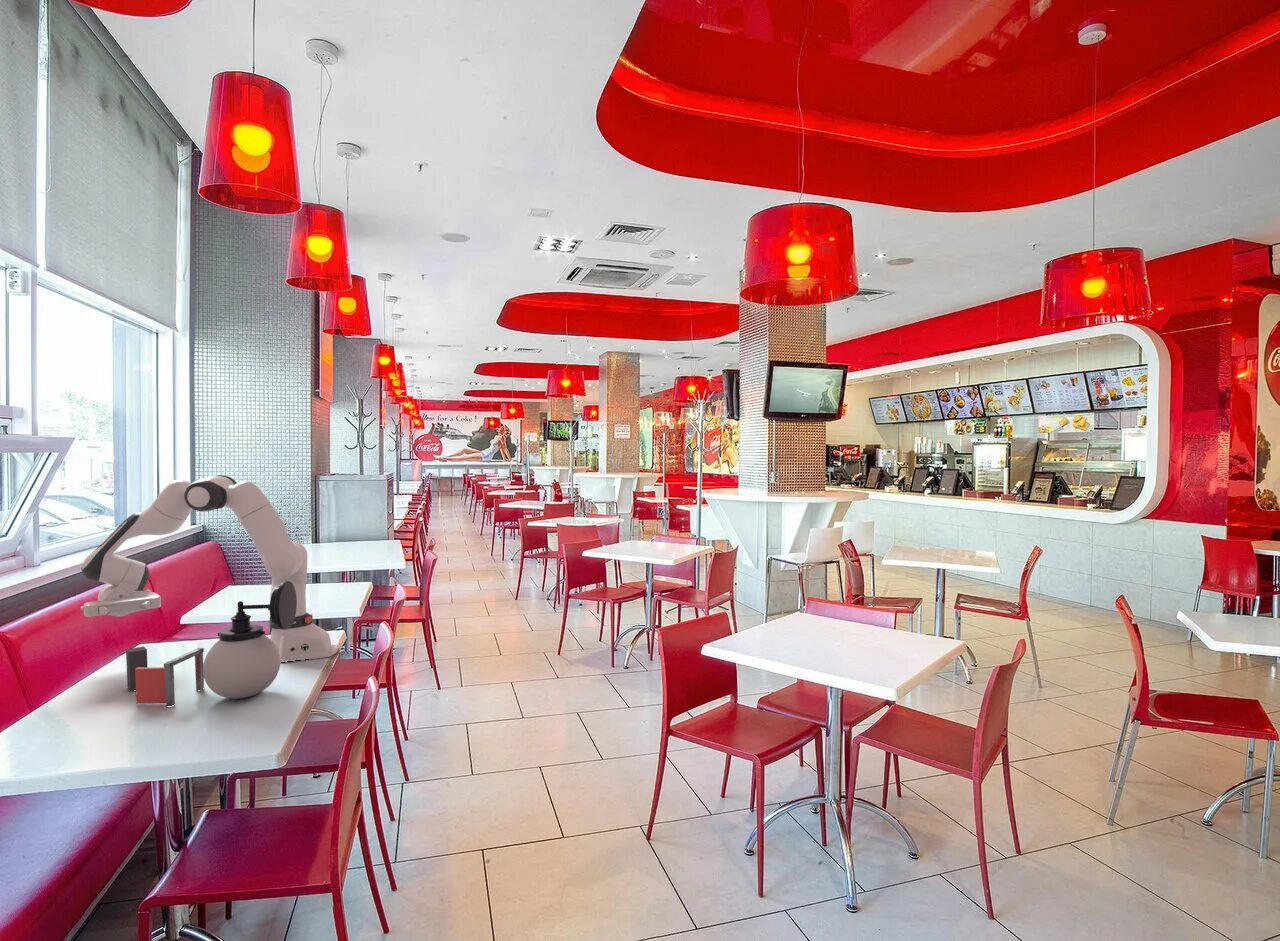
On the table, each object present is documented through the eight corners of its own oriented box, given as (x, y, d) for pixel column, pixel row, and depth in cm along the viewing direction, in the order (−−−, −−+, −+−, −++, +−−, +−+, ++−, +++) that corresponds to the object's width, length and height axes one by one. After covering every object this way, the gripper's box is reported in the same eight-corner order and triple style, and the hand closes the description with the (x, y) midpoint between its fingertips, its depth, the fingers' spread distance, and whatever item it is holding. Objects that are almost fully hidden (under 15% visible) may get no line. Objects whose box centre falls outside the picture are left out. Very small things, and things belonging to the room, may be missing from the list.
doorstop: (145, 685, 222) (143, 646, 221) (148, 688, 219) (146, 649, 218) (127, 688, 219) (125, 649, 218) (130, 692, 215) (128, 652, 215)
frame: (170, 707, 202) (168, 663, 201) (165, 707, 202) (163, 663, 201) (205, 689, 217) (203, 647, 217) (200, 689, 217) (198, 647, 217)
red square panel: (173, 702, 205) (172, 667, 205) (171, 703, 204) (170, 668, 204) (138, 702, 205) (137, 667, 205) (136, 703, 204) (135, 668, 204)
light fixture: (223, 686, 219) (220, 577, 218) (303, 683, 221) (299, 575, 220) (190, 710, 200) (185, 591, 198) (277, 706, 202) (273, 588, 201)
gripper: (79, 597, 229) (85, 604, 219) (155, 588, 243) (164, 594, 233) (79, 617, 229) (85, 624, 219) (155, 607, 243) (165, 614, 234)
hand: (127, 609), depth 226 cm, fingers open, 8 cm apart
